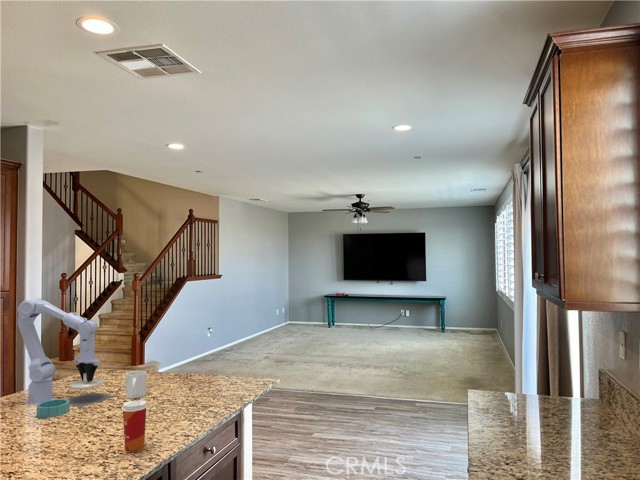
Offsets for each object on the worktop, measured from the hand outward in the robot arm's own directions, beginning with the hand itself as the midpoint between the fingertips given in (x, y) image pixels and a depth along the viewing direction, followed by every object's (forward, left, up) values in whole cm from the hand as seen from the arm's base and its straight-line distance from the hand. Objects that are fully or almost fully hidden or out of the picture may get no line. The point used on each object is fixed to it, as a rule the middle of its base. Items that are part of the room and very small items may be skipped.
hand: (87, 380), depth 197 cm
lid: (0, 0, -2) cm, 2 cm away
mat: (0, 0, -8) cm, 8 cm away
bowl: (+4, -17, -8) cm, 19 cm away
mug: (+16, +12, -9) cm, 22 cm away
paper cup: (+61, -24, -9) cm, 66 cm away
